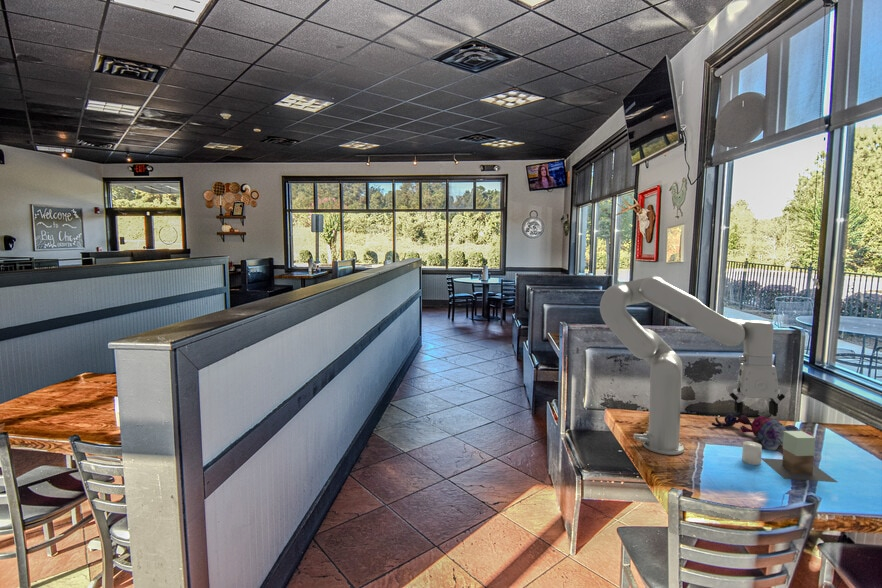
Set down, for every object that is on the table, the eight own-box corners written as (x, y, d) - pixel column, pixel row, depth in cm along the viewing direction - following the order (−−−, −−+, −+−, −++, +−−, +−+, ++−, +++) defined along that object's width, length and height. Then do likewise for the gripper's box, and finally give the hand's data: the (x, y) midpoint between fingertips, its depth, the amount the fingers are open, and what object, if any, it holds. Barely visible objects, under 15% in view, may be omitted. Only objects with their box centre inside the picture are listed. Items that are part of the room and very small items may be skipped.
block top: (796, 455, 142) (797, 438, 142) (782, 448, 148) (783, 431, 147) (814, 455, 142) (815, 437, 142) (800, 448, 148) (801, 430, 147)
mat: (784, 479, 140) (784, 478, 140) (760, 459, 153) (760, 458, 153) (837, 483, 137) (838, 482, 137) (808, 462, 151) (808, 461, 151)
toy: (715, 435, 183) (782, 473, 153) (706, 415, 181) (771, 449, 152) (750, 414, 184) (823, 447, 154) (741, 394, 182) (813, 423, 153)
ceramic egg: (746, 465, 149) (747, 447, 149) (739, 458, 154) (740, 440, 153) (763, 466, 148) (765, 448, 148) (756, 459, 153) (757, 441, 153)
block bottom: (792, 472, 143) (793, 455, 143) (782, 464, 149) (783, 447, 148) (812, 474, 142) (813, 456, 142) (801, 466, 148) (803, 448, 147)
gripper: (732, 362, 146) (731, 417, 147) (795, 363, 143) (793, 419, 144) (722, 357, 153) (720, 409, 155) (781, 358, 151) (779, 411, 152)
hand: (755, 414), depth 150 cm, fingers open, 9 cm apart
